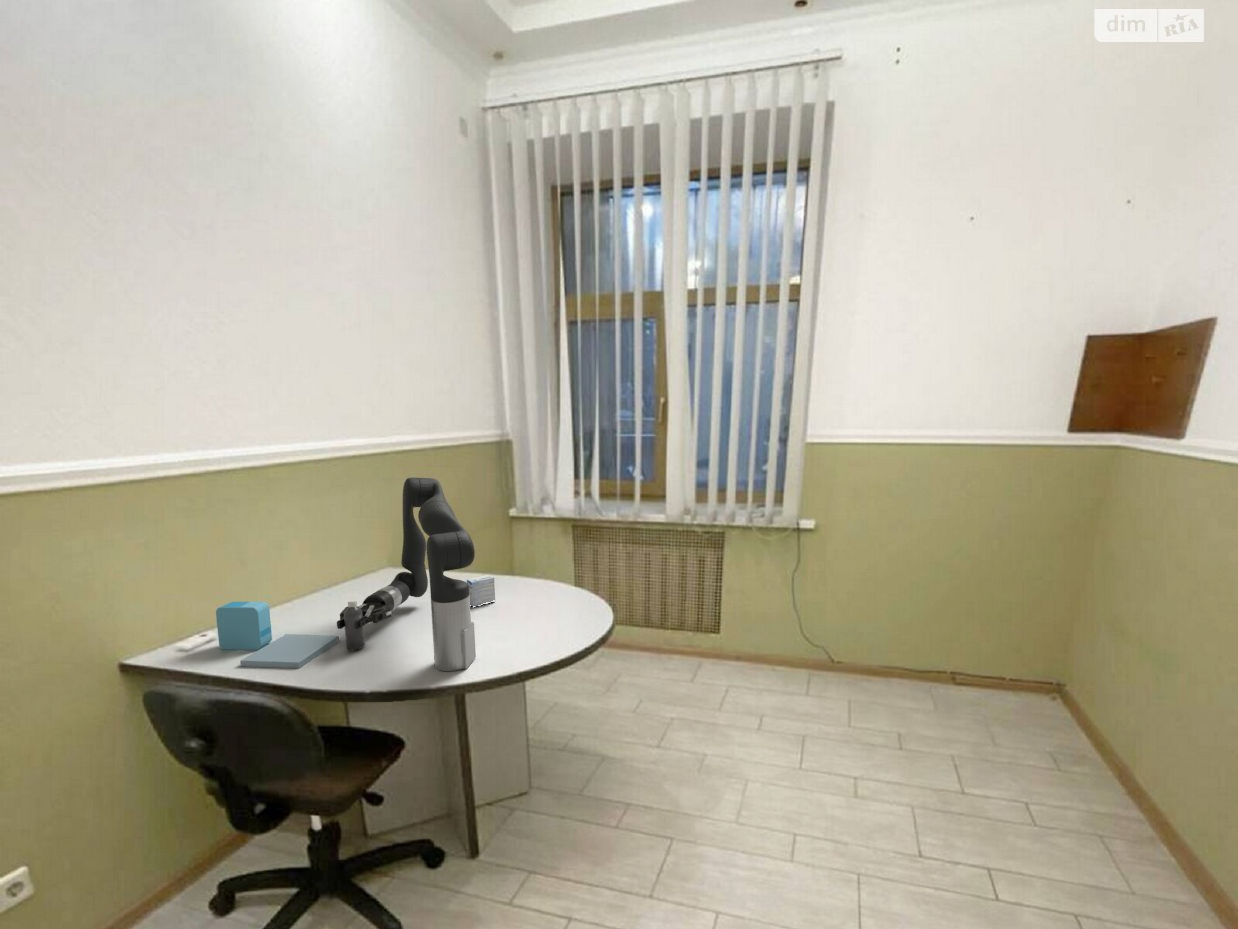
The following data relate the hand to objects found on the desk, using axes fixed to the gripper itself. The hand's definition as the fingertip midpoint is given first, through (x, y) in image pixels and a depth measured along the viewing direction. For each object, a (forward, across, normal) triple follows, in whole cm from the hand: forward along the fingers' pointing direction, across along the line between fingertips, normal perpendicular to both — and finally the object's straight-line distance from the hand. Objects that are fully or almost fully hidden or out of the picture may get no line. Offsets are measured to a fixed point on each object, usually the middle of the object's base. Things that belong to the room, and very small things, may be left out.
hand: (347, 625), depth 139 cm
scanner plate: (0, -16, +8) cm, 18 cm away
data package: (-3, -32, +8) cm, 33 cm away
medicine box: (-38, +22, +8) cm, 44 cm away
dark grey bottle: (-3, 0, +7) cm, 8 cm away
